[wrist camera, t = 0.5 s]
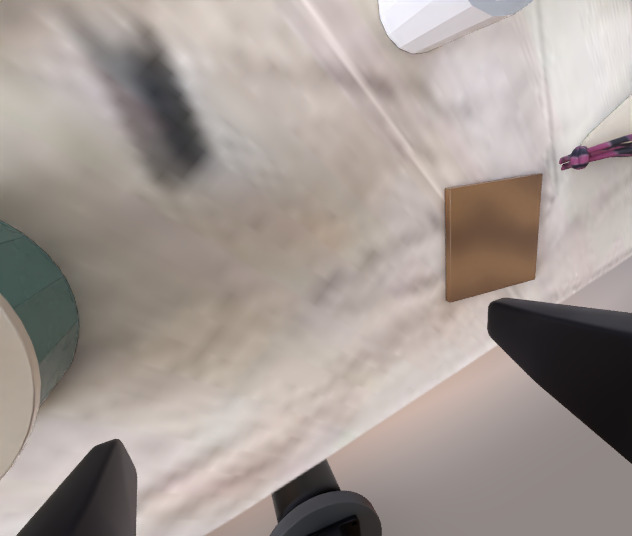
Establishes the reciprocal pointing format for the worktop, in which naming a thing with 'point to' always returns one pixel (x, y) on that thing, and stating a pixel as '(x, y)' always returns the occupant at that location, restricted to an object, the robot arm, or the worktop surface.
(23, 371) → the tin lid
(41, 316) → the lunch tin
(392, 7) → the white cup
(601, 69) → the worktop surface
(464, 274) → the plate
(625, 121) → the pouch
